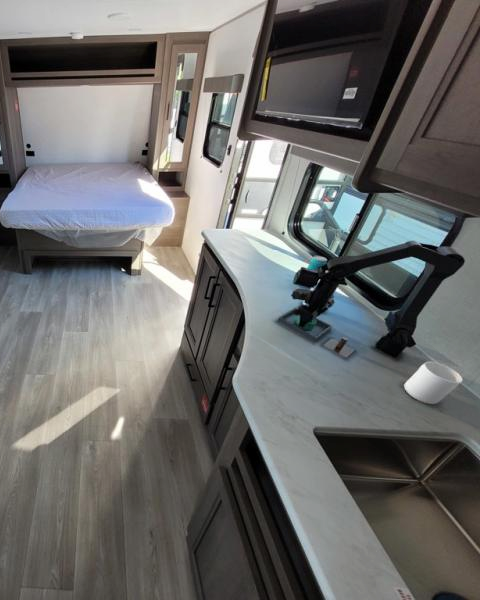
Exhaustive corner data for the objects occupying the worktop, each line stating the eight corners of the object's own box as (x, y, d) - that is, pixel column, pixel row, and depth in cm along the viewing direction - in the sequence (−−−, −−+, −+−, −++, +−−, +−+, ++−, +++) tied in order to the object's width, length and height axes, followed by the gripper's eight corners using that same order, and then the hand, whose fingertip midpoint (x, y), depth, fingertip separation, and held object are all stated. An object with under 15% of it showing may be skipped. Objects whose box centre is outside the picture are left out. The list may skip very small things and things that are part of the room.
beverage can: (308, 283, 151) (323, 255, 143) (314, 289, 147) (330, 261, 138) (296, 282, 152) (310, 254, 143) (302, 288, 147) (317, 260, 138)
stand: (354, 351, 112) (361, 341, 109) (345, 359, 108) (353, 348, 105) (331, 339, 117) (338, 329, 114) (322, 346, 113) (329, 336, 110)
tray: (329, 330, 121) (332, 326, 119) (313, 342, 115) (317, 337, 113) (292, 312, 130) (295, 307, 129) (276, 322, 124) (279, 317, 123)
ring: (316, 326, 121) (319, 320, 120) (308, 332, 118) (312, 326, 117) (299, 317, 126) (302, 312, 124) (291, 323, 123) (294, 317, 121)
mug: (396, 372, 104) (417, 350, 98) (428, 382, 101) (451, 360, 95) (406, 397, 95) (429, 375, 89) (441, 409, 92) (468, 387, 86)
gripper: (312, 274, 122) (295, 306, 131) (289, 287, 114) (272, 320, 123) (344, 287, 115) (323, 320, 124) (321, 302, 106) (301, 336, 115)
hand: (304, 323), depth 122 cm, fingers closed on ring, 6 cm apart
